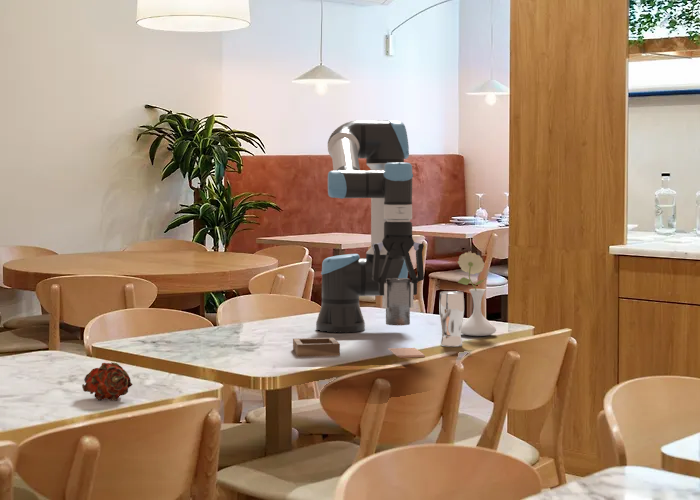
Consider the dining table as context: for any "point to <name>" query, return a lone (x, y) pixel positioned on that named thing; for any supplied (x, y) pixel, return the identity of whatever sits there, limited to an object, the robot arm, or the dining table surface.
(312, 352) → the socket block
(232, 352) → the dining table surface
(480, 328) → the flower in vase
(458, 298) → the beer glass
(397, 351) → the pad
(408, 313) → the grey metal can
